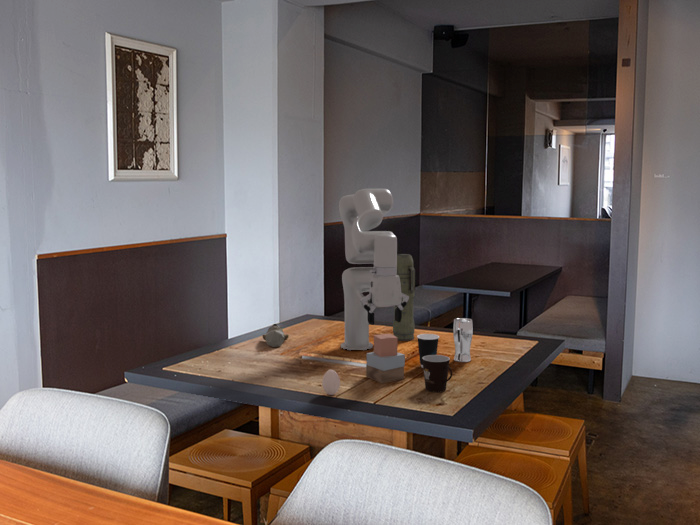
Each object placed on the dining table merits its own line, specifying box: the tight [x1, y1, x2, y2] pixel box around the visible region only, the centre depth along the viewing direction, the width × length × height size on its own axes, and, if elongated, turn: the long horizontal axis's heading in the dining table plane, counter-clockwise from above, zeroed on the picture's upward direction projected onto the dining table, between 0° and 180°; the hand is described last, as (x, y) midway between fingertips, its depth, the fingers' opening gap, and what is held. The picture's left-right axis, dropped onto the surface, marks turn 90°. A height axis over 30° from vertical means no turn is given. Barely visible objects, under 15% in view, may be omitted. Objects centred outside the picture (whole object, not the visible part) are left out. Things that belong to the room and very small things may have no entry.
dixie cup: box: [416, 333, 440, 369], centre depth 251 cm, size 8×8×11 cm
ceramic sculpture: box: [262, 323, 289, 348], centre depth 286 cm, size 11×9×15 cm
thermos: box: [392, 253, 416, 342], centre depth 294 cm, size 9×12×35 cm
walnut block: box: [365, 364, 405, 384], centre depth 238 cm, size 9×9×4 cm
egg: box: [321, 369, 341, 396], centre depth 220 cm, size 6×6×8 cm
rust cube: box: [373, 333, 398, 357], centre depth 237 cm, size 6×6×6 cm
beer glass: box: [452, 317, 474, 363], centre depth 260 cm, size 7×7×15 cm
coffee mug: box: [422, 354, 453, 393], centre depth 223 cm, size 12×9×10 cm
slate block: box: [366, 351, 406, 371], centre depth 238 cm, size 9×9×4 cm
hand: (384, 322), depth 236 cm, fingers open, 9 cm apart
